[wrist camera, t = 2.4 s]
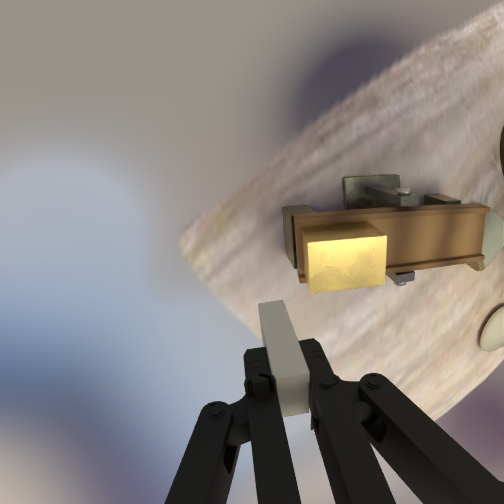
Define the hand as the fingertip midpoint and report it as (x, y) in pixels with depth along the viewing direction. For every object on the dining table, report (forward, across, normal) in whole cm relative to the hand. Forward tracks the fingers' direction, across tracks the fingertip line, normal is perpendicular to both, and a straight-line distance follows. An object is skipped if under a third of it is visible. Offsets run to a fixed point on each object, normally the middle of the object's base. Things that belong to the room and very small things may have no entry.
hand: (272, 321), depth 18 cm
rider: (+12, -8, 0) cm, 14 cm away
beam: (+11, -16, 0) cm, 20 cm away
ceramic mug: (+20, -37, +5) cm, 42 cm away
